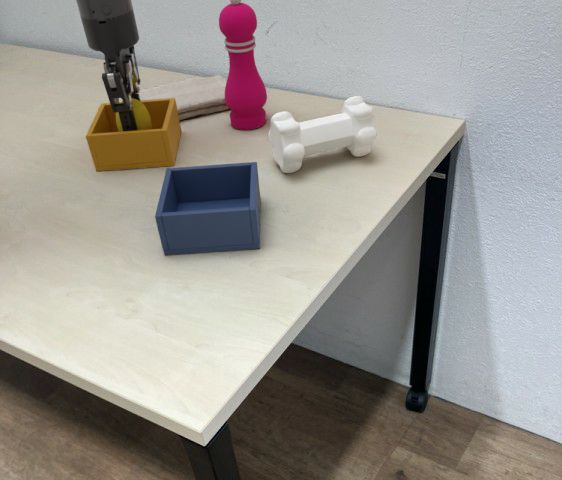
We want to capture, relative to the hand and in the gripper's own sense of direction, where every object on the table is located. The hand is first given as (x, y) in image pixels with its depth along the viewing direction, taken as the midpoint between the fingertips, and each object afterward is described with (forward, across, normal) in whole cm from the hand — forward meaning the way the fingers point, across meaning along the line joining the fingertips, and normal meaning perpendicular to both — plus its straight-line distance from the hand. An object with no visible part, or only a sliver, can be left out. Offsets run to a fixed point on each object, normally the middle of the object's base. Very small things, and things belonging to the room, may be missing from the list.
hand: (134, 125), depth 99 cm
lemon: (+4, 0, 0) cm, 4 cm away
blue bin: (+4, +25, +14) cm, 29 cm away
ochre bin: (+4, 0, 0) cm, 4 cm away
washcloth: (+4, -17, +7) cm, 19 cm away
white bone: (+5, +8, +30) cm, 31 cm away
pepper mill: (+4, -8, +18) cm, 20 cm away
